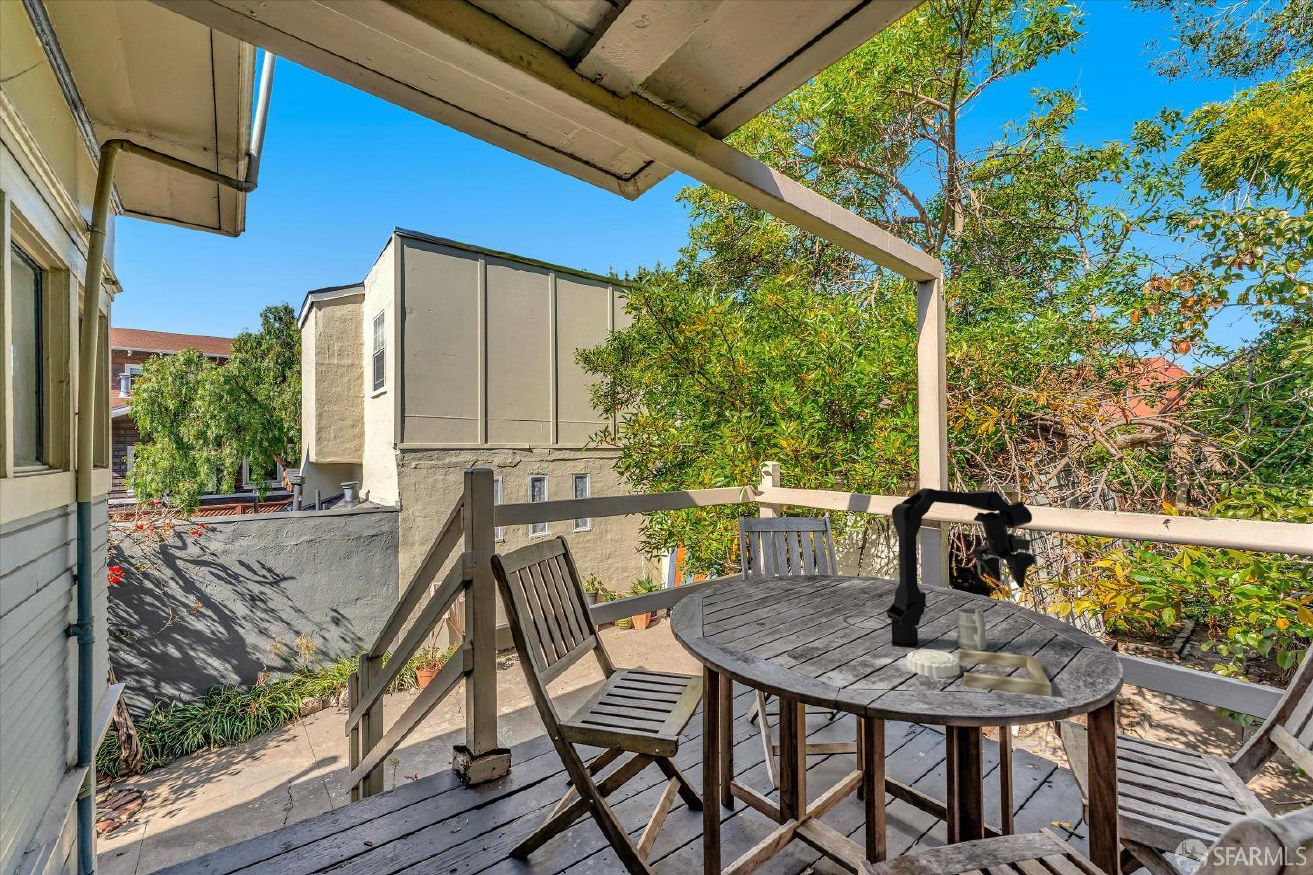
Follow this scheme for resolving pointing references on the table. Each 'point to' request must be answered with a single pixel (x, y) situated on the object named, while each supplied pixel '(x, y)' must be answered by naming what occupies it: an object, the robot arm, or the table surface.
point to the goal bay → (1035, 686)
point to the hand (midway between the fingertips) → (1009, 583)
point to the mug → (971, 629)
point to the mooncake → (933, 663)
